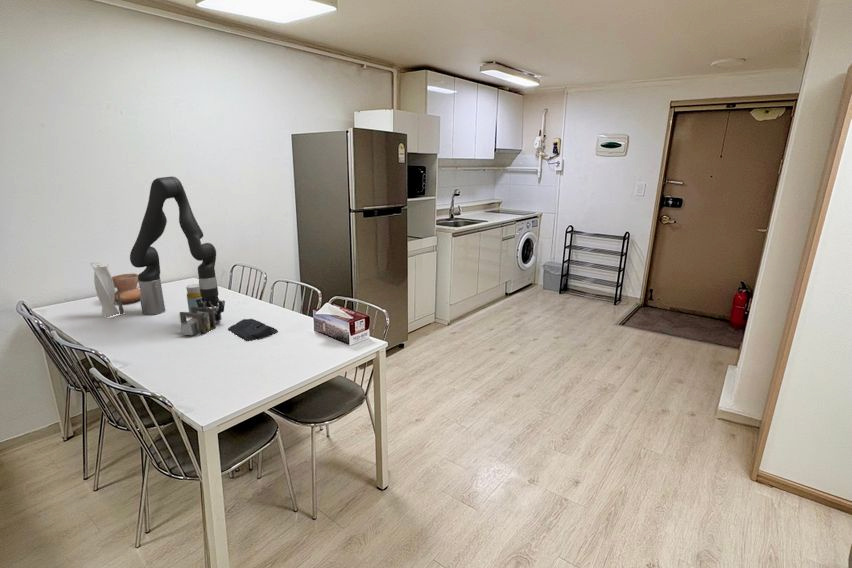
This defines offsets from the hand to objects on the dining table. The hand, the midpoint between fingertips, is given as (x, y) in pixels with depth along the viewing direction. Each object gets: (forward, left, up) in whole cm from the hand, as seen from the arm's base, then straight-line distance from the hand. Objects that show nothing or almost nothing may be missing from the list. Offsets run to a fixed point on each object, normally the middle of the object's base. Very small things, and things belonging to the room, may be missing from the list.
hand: (213, 320), depth 208 cm
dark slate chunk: (+24, -5, -2) cm, 24 cm away
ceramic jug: (-65, +17, -1) cm, 67 cm away
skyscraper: (-55, -3, -2) cm, 55 cm away
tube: (0, -7, 0) cm, 7 cm away
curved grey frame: (0, -9, -1) cm, 10 cm away
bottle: (-15, +8, -1) cm, 17 cm away
